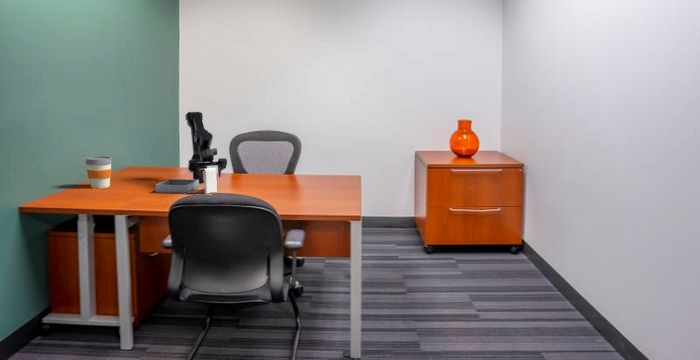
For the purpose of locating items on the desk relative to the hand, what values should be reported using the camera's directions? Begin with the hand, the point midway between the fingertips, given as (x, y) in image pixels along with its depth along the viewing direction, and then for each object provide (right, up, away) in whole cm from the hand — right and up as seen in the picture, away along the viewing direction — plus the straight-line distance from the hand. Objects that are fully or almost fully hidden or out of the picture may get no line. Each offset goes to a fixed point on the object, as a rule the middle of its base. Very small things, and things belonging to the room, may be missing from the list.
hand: (210, 177), depth 302 cm
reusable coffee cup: (-61, -5, +16) cm, 63 cm away
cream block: (0, -8, +2) cm, 8 cm away
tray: (-19, -6, +9) cm, 22 cm away
